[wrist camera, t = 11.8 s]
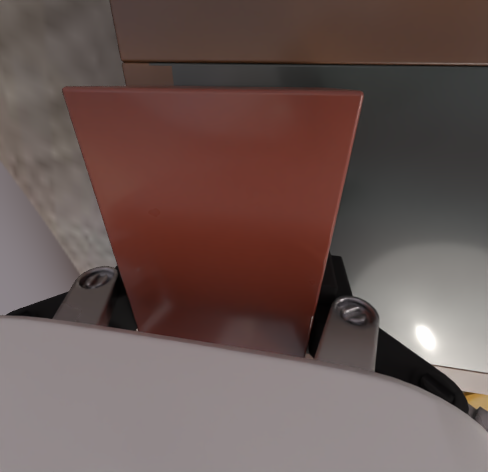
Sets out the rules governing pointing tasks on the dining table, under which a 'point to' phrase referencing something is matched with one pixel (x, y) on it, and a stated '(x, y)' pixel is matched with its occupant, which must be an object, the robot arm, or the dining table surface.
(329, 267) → the robot arm
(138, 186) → the eraser
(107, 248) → the dining table surface
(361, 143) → the chalkboard
